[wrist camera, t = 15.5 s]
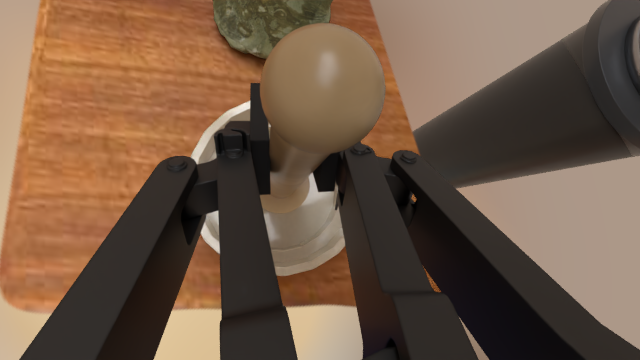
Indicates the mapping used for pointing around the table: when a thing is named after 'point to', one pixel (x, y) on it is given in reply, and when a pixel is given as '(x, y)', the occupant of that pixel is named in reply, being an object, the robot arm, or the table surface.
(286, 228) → the bowl
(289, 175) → the pestle
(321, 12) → the seashell
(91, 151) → the table surface
